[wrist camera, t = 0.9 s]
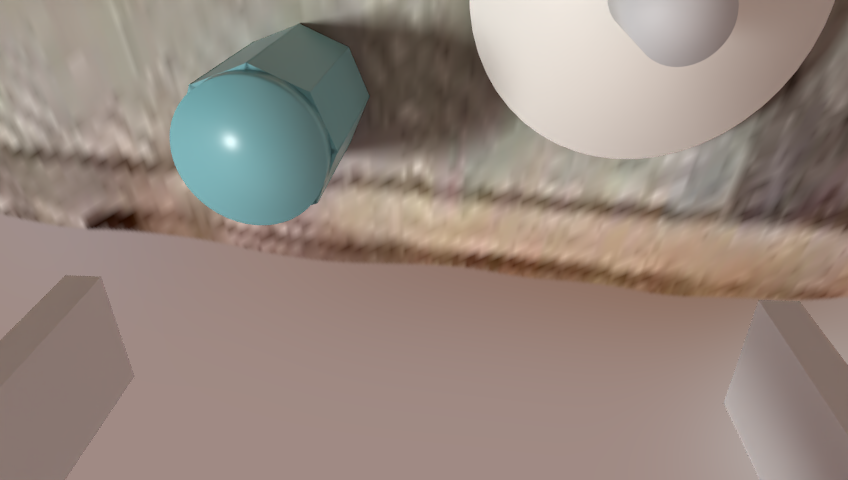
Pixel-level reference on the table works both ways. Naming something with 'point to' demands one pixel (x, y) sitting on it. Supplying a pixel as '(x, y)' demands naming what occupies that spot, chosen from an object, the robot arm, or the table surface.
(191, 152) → the teal cap
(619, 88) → the post base
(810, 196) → the table surface
